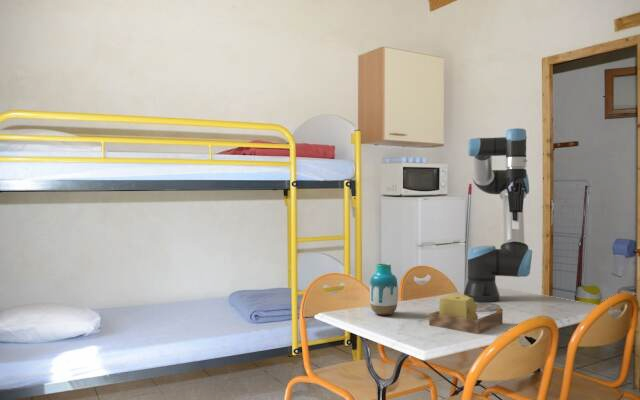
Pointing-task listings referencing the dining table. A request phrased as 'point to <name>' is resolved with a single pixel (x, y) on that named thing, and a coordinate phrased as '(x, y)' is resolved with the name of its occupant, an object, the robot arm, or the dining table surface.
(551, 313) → the dining table surface
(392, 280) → the vase
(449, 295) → the cheese
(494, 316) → the bay
